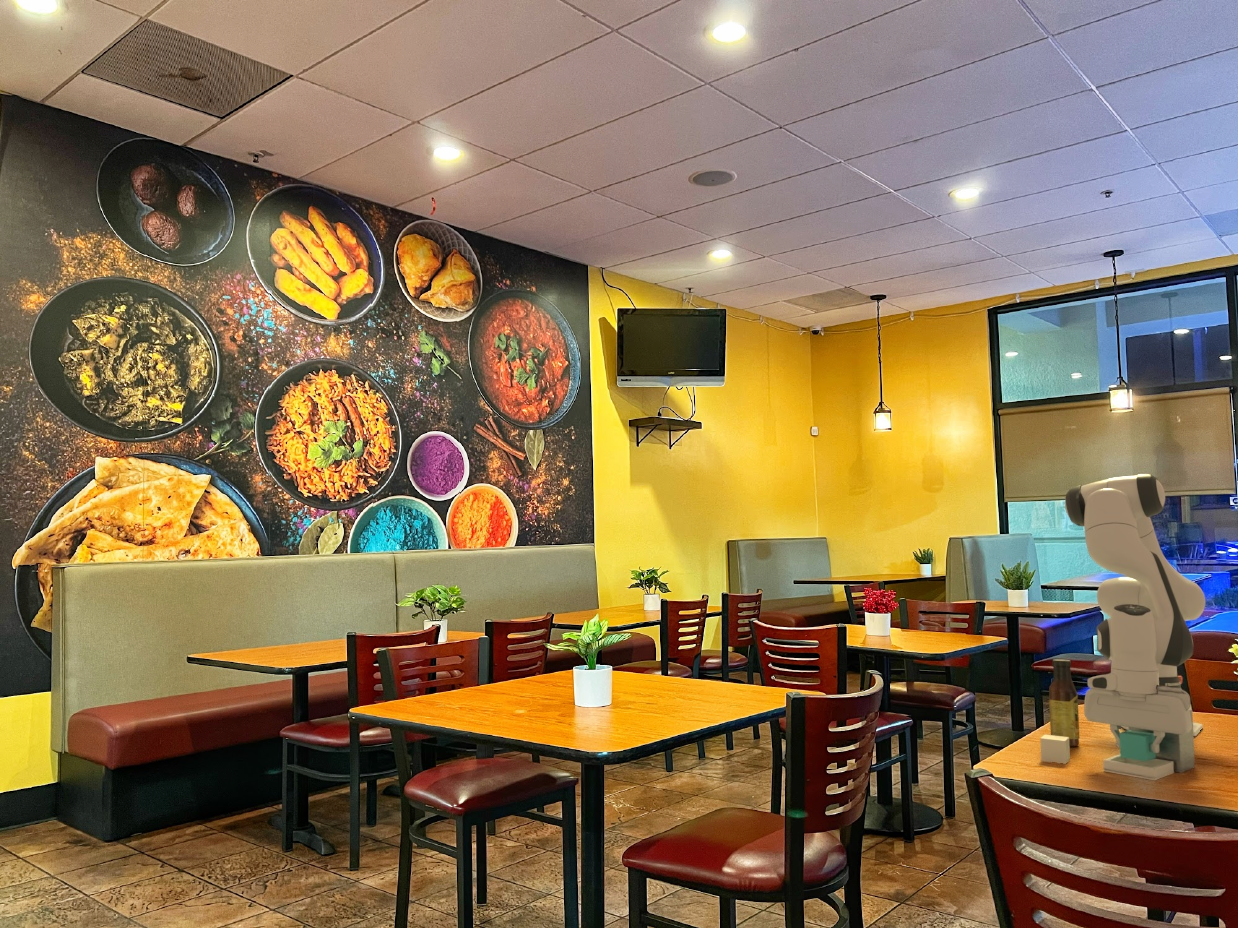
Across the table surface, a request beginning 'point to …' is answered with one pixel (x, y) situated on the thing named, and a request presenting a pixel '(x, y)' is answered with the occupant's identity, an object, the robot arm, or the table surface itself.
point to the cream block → (1055, 749)
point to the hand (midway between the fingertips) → (1137, 749)
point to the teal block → (1136, 745)
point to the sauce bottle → (1064, 703)
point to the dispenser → (1176, 748)
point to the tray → (1138, 767)
